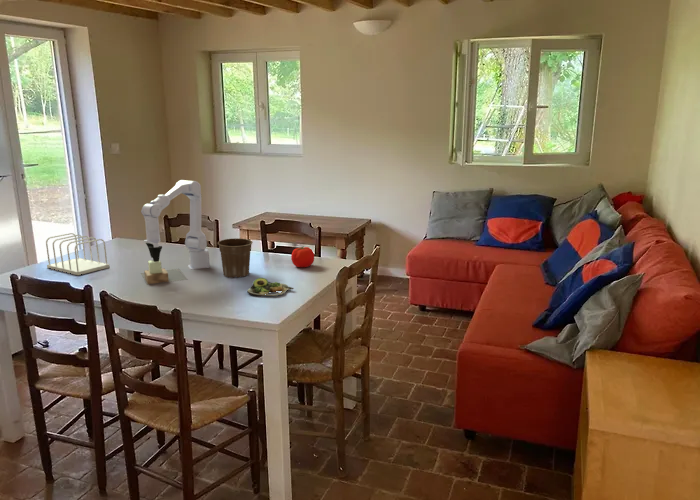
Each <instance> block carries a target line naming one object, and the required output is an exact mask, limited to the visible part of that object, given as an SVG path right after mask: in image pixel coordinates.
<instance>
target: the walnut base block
mask: <svg viewBox="0 0 700 500" xmlns="http://www.w3.org/2000/svg"><path fill="white" fill-rule="evenodd" d="M166 270H167V269H165V268H163V267H162V273H155V274H150V272H149V269H147V270H143V271H144V272H143V273H145V280H146V282H147V283H148V284H149V285H154V284H153V283H157V284H162V283H161V282H164V283H170V282H169V281H168V273H167V271H166ZM145 280H144V281H145ZM146 282H145V283H146Z"/></svg>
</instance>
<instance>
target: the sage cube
mask: <svg viewBox="0 0 700 500" xmlns="http://www.w3.org/2000/svg"><path fill="white" fill-rule="evenodd" d="M147 264H148V267H147V268H148V270H149V272H150V274H155V273H162V269H163V267H162V261H161V260H160V259H159V261H157V262H154V260H153V259H152V260H148V261H147Z"/></svg>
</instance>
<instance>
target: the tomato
mask: <svg viewBox="0 0 700 500" xmlns="http://www.w3.org/2000/svg"><path fill="white" fill-rule="evenodd" d="M304 246H305V245H302V246H300V247H296V248H295V249H293V250H292V253H291V256H290V257H291V262H292V264H293V265H294V266H295V267H296V268H297V267H298V268H308V267H310V266H311V265H313V263H314V262H315V253H314V250H313V249H311V248H310V247H309V246H307V247H304Z"/></svg>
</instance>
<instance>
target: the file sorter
mask: <svg viewBox="0 0 700 500" xmlns="http://www.w3.org/2000/svg"><path fill="white" fill-rule="evenodd" d="M58 237H59V238H58ZM54 238H56V239H54ZM50 239H54V240H53V242H52V251H53V258H54V263H51V260H50V253H49V247H48V246H49V245H48V242H49V240H50ZM91 239H92V240H91ZM60 240H61V242H60V243H59V247H58V248H59V252H60V254H59V255H60V259H61V261H59V262H57V256H56V250H55V243H56V242H57V241H60ZM73 240H74V241H73ZM85 240H86V241H85ZM69 241H70V242H69ZM98 241H101V242H102V243H103V251H104V259H105V262H101V260H100V253H99V246H98ZM64 242H69V243H68V244H67V245H66V250H67V258H68V259H67V260H64V258H63V251H62V244H63V243H64ZM92 242H95V247H96V254H97V261H95V260H93V253H92V245H91V243H92ZM74 243H75V245H74V255H75V258H72V259H70V250H69V248H70V247H69V246H70V245H71V244H74ZM85 244H89V245H88V246H89V252H90V259H86V257H87V256H86V251H85ZM79 245H82V251H83V257H84V258H81V257H80V255H79ZM45 247H46V254H47V260H48V264H47V265H46V268H47V269H49V268H51V269H50V270H54V269H55V270H54V271H58V270H59V271H58V272H62V271H63V273H66V272H67V273H66V274H70V273H71V275H74V276H75V275H76V276H81V274H82V275H84V274H88V273H93V272H96V271H101V270H105V269H109V268H110V264H109V263H108V260H107V259H108V257H107V249H106V241H105V240H104V239H103V238H99V239H98V238H96V237H94V236H90V237H89V236H87V235H81V234H75V233H74V232H69V233H64V234H63V233H62V234H59V235H54V236H50V237H48V238H47V239H46V240H45Z"/></svg>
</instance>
